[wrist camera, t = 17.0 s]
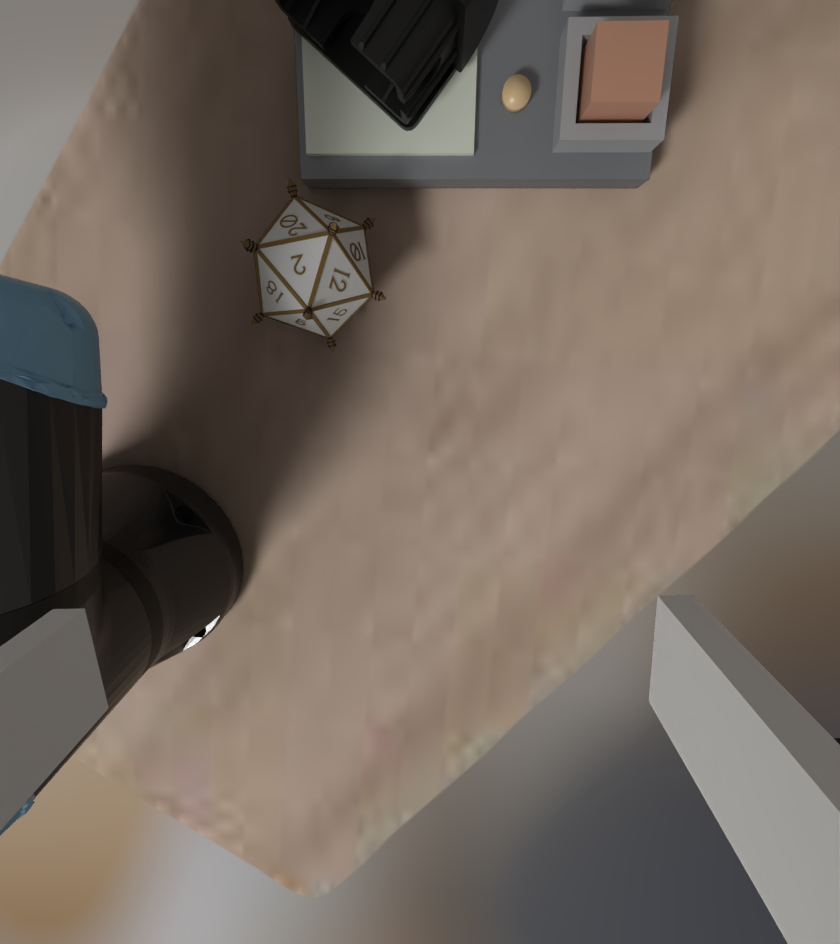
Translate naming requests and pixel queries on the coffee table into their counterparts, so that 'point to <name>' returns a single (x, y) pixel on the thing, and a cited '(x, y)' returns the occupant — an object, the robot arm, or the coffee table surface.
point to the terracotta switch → (621, 71)
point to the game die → (312, 268)
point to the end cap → (394, 45)
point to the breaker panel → (487, 112)
